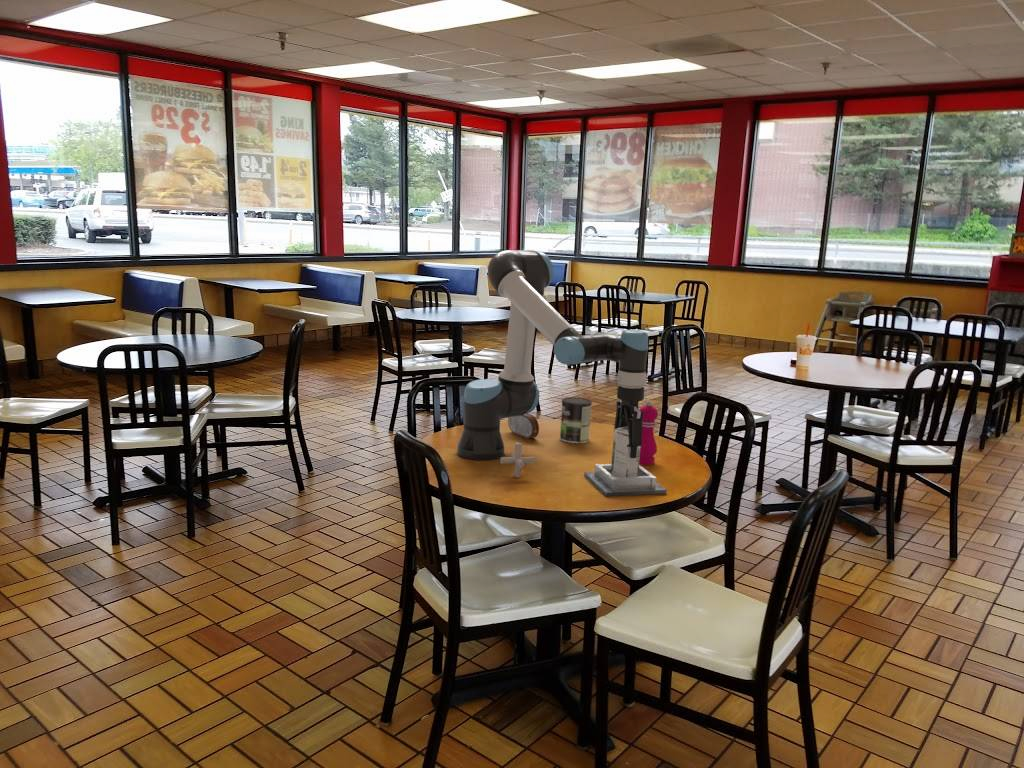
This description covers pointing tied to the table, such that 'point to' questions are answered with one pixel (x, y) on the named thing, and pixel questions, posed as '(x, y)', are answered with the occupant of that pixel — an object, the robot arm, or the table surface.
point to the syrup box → (622, 454)
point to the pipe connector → (517, 459)
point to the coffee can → (575, 420)
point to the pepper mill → (648, 434)
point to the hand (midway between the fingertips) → (625, 463)
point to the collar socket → (624, 482)
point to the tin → (524, 425)
